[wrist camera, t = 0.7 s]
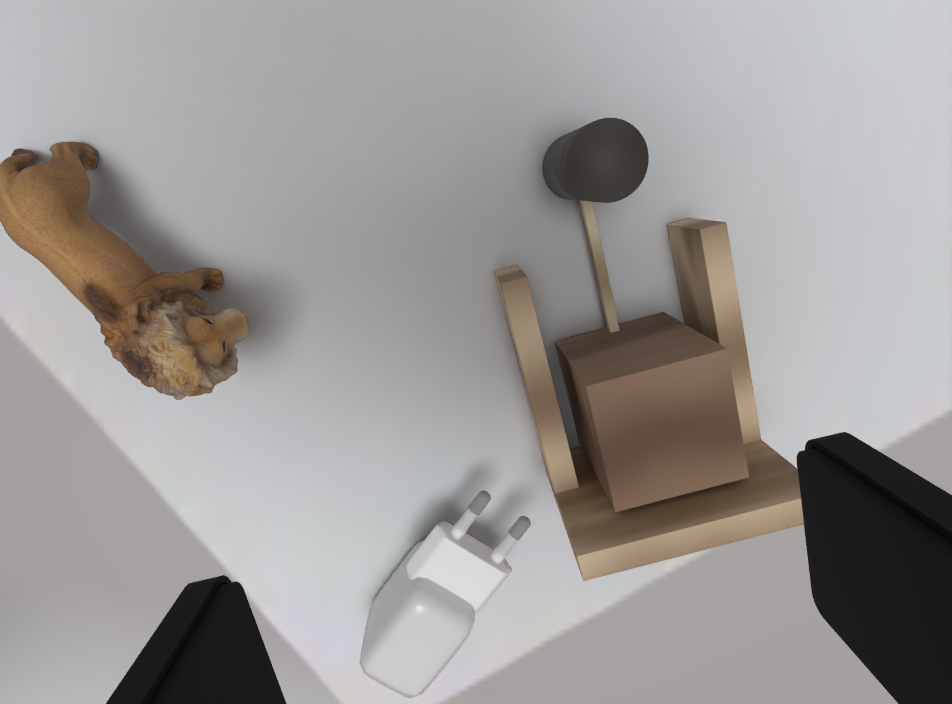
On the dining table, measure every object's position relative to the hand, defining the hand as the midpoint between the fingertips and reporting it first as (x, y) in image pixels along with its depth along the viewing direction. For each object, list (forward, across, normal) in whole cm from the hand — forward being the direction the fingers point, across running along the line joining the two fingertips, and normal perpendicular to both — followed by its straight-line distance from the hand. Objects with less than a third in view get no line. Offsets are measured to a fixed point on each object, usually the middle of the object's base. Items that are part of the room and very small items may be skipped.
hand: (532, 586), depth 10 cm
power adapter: (+24, +5, +13) cm, 28 cm away
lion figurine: (+24, +15, -7) cm, 29 cm away
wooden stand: (+24, -7, +4) cm, 25 cm away
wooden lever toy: (+24, -7, 0) cm, 25 cm away
